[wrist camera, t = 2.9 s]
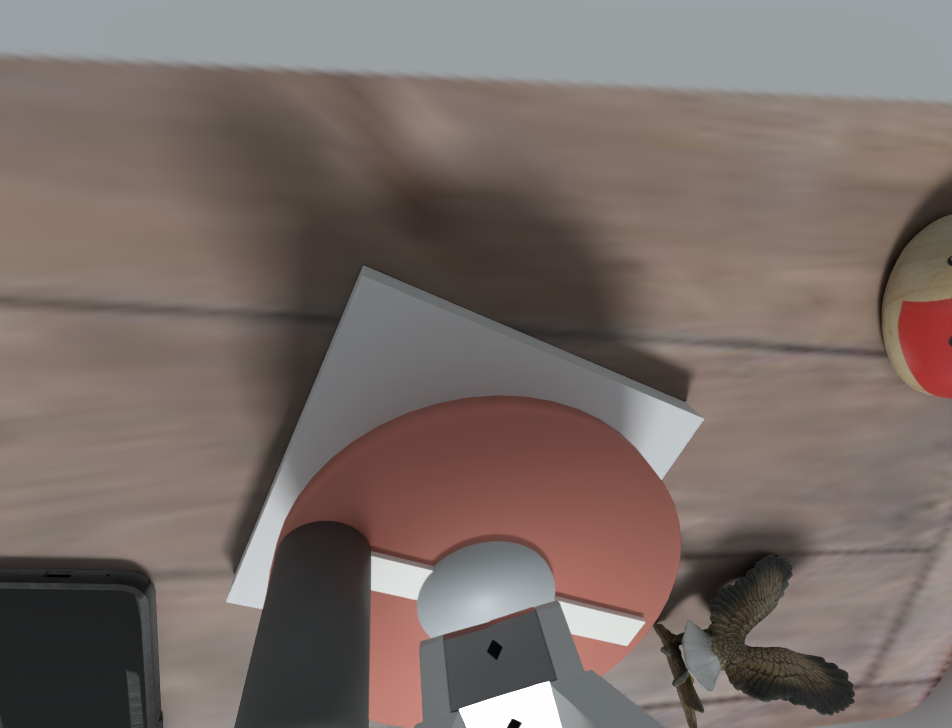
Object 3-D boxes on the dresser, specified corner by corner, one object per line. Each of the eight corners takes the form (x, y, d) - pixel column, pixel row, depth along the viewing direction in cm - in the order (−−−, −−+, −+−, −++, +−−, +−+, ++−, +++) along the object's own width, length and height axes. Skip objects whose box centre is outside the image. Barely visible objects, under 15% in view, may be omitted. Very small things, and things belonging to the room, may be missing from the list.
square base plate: (234, 575, 24) (205, 665, 20) (363, 265, 20) (359, 301, 16) (527, 637, 30) (550, 718, 25) (686, 402, 25) (746, 457, 21)
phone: (-9, 802, 27) (-67, 582, 21) (5, 777, 28) (-47, 561, 22) (161, 791, 29) (150, 585, 23) (168, 768, 30) (160, 565, 24)
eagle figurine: (680, 695, 32) (832, 662, 31) (704, 780, 26) (903, 742, 24) (636, 574, 33) (782, 535, 32) (647, 623, 26) (836, 576, 25)
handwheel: (735, 467, 20) (906, 632, 14) (548, 716, 25) (610, 930, 18) (368, 325, 16) (361, 473, 9) (220, 665, 20) (142, 931, 13)
